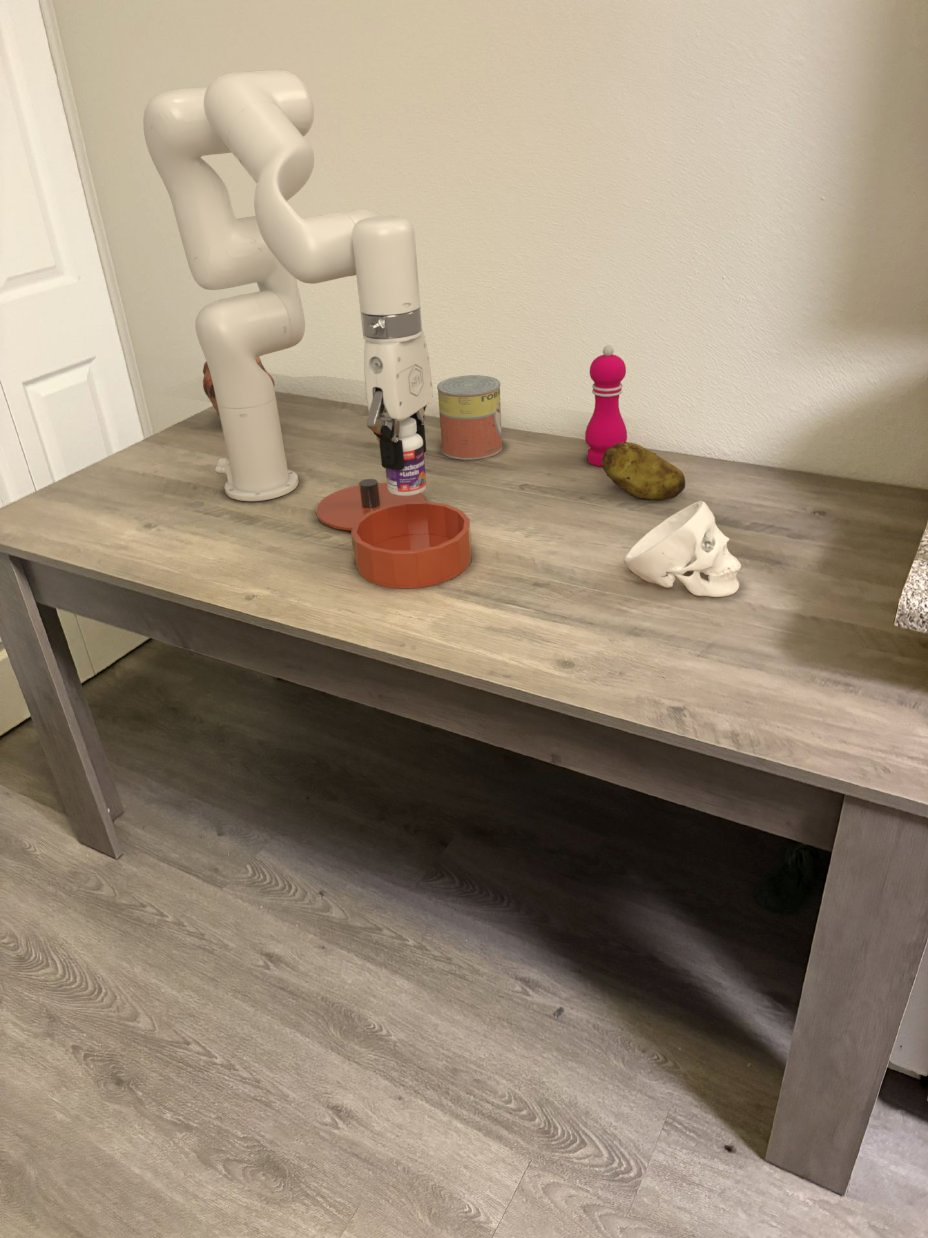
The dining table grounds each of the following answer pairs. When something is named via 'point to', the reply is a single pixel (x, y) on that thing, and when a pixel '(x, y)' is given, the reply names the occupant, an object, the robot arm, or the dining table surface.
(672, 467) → the potato
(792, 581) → the dining table surface
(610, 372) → the pepper mill
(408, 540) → the pot
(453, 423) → the canned food
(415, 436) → the pill bottle
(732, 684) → the dining table surface
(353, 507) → the lid
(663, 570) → the skull bowl
